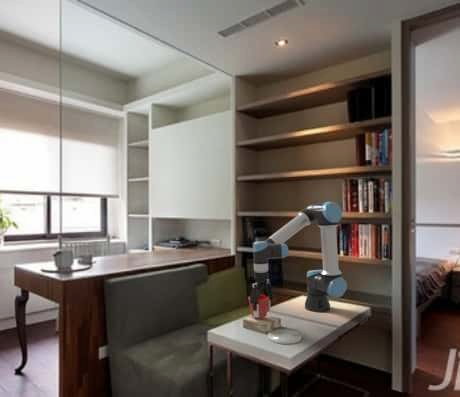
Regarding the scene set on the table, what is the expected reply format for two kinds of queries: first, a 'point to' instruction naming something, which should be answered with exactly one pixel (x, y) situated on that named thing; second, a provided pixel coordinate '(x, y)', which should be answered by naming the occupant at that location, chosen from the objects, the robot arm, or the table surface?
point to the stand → (262, 323)
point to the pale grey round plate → (284, 336)
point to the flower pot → (261, 305)
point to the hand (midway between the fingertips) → (262, 314)
